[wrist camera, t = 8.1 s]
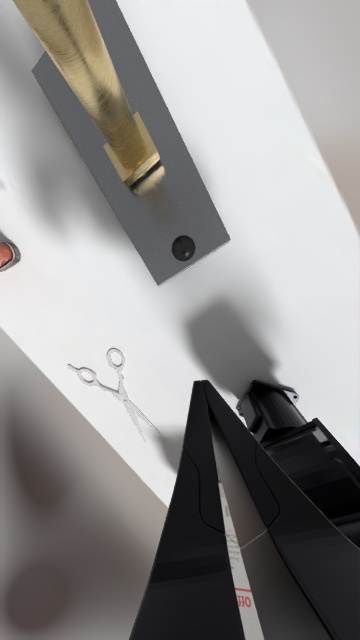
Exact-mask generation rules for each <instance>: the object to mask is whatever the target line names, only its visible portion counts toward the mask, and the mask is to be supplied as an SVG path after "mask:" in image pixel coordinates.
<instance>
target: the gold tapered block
mask: <svg viewBox="0 0 360 640" xmlns="http://www.w3.org/2000/svg"><path fill="white" fill-rule="evenodd" d="M13 2H14V3H15V5H16V6H17V8H18V9H19V11H20V12H21V14H22V15H23V17H24V18H25V20H26V21H27V23H28V24H29V26H30V27H31V29H32V30H33V32H34V33H35V35H36V36H37V38H38V39H39V41H40V42H41V44H42V45H43V47H44V48H45V50H46V51H47V53H48V54H49V56H50V57H51V59H52V60H53V62H54V63H55V65H56V66H57V68H58V69H59V71H60V72H61V74H62V75H63V77H64V78H65V80H66V81H67V83H68V84H69V86H70V87H71V89H72V90H73V92H74V93H75V95H76V96H77V98H78V99H79V101H80V102H81V104H82V105H83V107H84V109H85V110H86V112H87V113H88V115H89V116H90V118H91V119H92V121H93V122H94V124H95V125H96V127H97V128H98V130H99V131H100V133H101V134H102V136H103V137H104V139H105V140H106V142H107V143H106V144H105V145H104V146H103V147H104V149H105V151H106V152H107V154H108V156H109V158H110V159H111V161H112V163H113V165H114V167H115V168H116V170H117V172H118V174H119V176H120V177H121V179H122V181H123V182H124V184H125V185H126V186H127V188H128V187H129V186H130V185H132V184H133V183H134V182H135V181H136V180H137V179H138V178H140V177H141V176H142V175H143V174H144V173H145V172H146V171H148V170H149V169H150V168H151V167H152V166H153V165H154V164H156V163H157V162H158V161H159V160H160V157H159V154H158V151H157V149H156V147H155V145H154V143H153V141H152V139H151V137H150V135H149V133H148V131H147V129H146V127H145V125H144V123H143V121H142V119H141V117H140V115H139V113H138V111H137V112H136V113H135V114H134V115H133V113H132V111H131V108H130V106H129V103H128V101H127V98H126V96H125V93H124V91H123V88H122V86H121V83H120V81H119V78H118V76H117V73H116V71H115V68H114V66H113V63H112V61H111V58H110V56H109V53H108V51H107V48H106V46H105V43H104V41H103V38H102V36H101V33H100V31H99V28H98V26H97V23H96V21H95V18H94V16H93V13H92V11H91V8H90V6H89V3H88V1H87V0H13Z"/></svg>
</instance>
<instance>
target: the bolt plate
mask: <svg viewBox="0 0 360 640" xmlns="http://www.w3.org/2000/svg"><path fill="white" fill-rule="evenodd" d="M87 1H88V3H89V6H90V8H91V11H92V13H93V16H94V18H95V21H96V23H97V26H98V28H99V31H100V33H101V36H102V38H103V41H104V43H105V46H106V48H107V51H108V53H109V56H110V58H111V61H112V63H113V66H114V68H115V71H116V73H117V76H118V78H119V81H120V83H121V86H122V88H123V91H124V93H125V96H126V98H127V101H128V103H129V106H130V108H131V111H132V113H133V115H134V114H135V113H136V112H137V111H138V113H139V115H140V117H141V119H142V121H143V123H144V125H145V127H146V129H147V131H148V133H149V135H150V137H151V139H152V141H153V143H154V145H155V147H156V149H157V151H158V154H159V157H160V160H159V161H158V162H157V163H156V164H154V165H153V166H152V167H151V168H150V169H149V170H148V171H146V172H145V173H144V174H143V175H142V176H141V177H140V178H138V179H137V180H136V181H135V182H134V183H133V184H132V185H130V186H129V187H128V188H127V186H126V185H125V184H124V182H123V181H122V179H121V177H120V176H119V174H118V172H117V170H116V168H115V167H114V165H113V163H112V161H111V159H110V158H109V156H108V154H107V152H106V151H105V149H104V147H103V146H104V145H105V144H106V143H107V142H106V140H105V139H104V137H103V136H102V134H101V133H100V131H99V130H98V128H97V127H96V125H95V124H94V122H93V121H92V119H91V118H90V116H89V115H88V113H87V112H86V110H85V109H84V107H83V105H82V104H81V102H80V101H79V99H78V98H77V96H76V95H75V93H74V92H73V90H72V89H71V87H70V86H69V84H68V83H67V81H66V80H65V78H64V77H63V75H62V74H61V72H60V71H59V69H58V68H57V66H56V65H55V63H54V62H53V60H52V59H51V57H50V56H49V54H48V53H47V51H45V53H44V54H43V56H42V57H41V59H40V60H39V61H38V63H37V64H36V66H35V67H34V68H33V70H32V72H33V74H34V76H35V78H36V79H37V81H38V83H39V84H40V86H41V88H42V89H43V91H44V93H45V95H46V96H47V98H48V100H49V101H50V103H51V105H52V106H53V108H54V110H55V112H56V113H57V115H58V117H59V118H60V120H61V122H62V123H63V125H64V127H65V129H66V130H67V132H68V134H69V135H70V137H71V139H72V140H73V142H74V144H75V146H76V147H77V149H78V151H79V152H80V154H81V156H82V157H83V159H84V161H85V163H86V164H87V166H88V168H89V169H90V171H91V173H92V174H93V176H94V178H95V180H96V181H97V183H98V185H99V186H100V188H101V190H102V191H103V193H104V195H105V197H106V198H107V200H108V202H109V203H110V205H111V207H112V209H113V210H114V212H115V214H116V215H117V217H118V219H119V220H120V222H121V224H122V226H123V227H124V229H125V231H126V232H127V234H128V236H129V237H130V239H131V241H132V243H133V244H134V246H135V248H136V249H137V251H138V253H139V254H140V256H141V258H142V260H143V261H144V263H145V265H146V266H147V268H148V270H149V271H150V273H151V275H152V277H153V278H154V280H155V282H156V283H157V285H161V284H163V283H165V282H166V281H168V280H169V279H171V278H173V277H174V276H176V275H177V274H179V273H181V272H182V271H184V270H185V269H187V268H189V267H190V266H192V265H193V264H195V263H196V262H198V261H200V260H201V259H203V258H204V257H206V256H208V255H209V254H211V253H212V252H214V251H216V250H217V249H219V248H220V247H222V246H224V245H225V244H227V243H228V242H229V241H230V240H231V239H230V237H229V235H228V233H227V231H226V229H225V227H224V225H223V223H222V221H221V218H220V216H219V214H218V212H217V210H216V208H215V206H214V204H213V202H212V200H211V198H210V196H209V193H208V191H207V189H206V187H205V185H204V183H203V181H202V179H201V177H200V175H199V173H198V171H197V168H196V166H195V164H194V162H193V160H192V158H191V156H190V154H189V152H188V150H187V148H186V146H185V143H184V141H183V139H182V137H181V135H180V133H179V131H178V129H177V127H176V125H175V123H174V121H173V118H172V116H171V114H170V112H169V110H168V108H167V106H166V104H165V102H164V100H163V98H162V96H161V93H160V91H159V89H158V87H157V85H156V83H155V81H154V79H153V77H152V75H151V73H150V71H149V69H148V66H147V64H146V62H145V60H144V58H143V56H142V54H141V52H140V50H139V48H138V46H137V44H136V41H135V39H134V37H133V35H132V33H131V31H130V29H129V27H128V25H127V23H126V21H125V19H124V16H123V14H122V12H121V10H120V8H119V6H118V4H117V2H116V0H87Z"/></svg>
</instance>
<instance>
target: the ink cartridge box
mask: <svg viewBox="0 0 360 640" xmlns="http://www.w3.org/2000/svg"><path fill="white" fill-rule="evenodd" d="M219 490H220V497H221V504H222V511H223V518H224V525H225V535H226V540H227V547H228V553H229V559H230V565H231V571H232V576H233V581H234V586H235V591H236V596H237V600H238V605H239V610H240V615H241V620H242V625H243V630H244V634H245V639H246V640H264V637H263V633H262V630H261V626H260V622H259V618H258V615H257V611H256V607H255V604H254V600H253V596H252V593H251V589H250V585H249V582H248V578H247V574H246V571H245V567H244V563H243V560H242V556H241V552H240V548H239V545H238V541H237V537H236V534H235V530H234V526H233V523H232V519H231V515H230V511H229V508H228V504H227V500H226V497H225V493H224V489H223V486H222V483H219Z"/></svg>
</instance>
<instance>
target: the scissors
mask: <svg viewBox="0 0 360 640" xmlns="http://www.w3.org/2000/svg"><path fill="white" fill-rule="evenodd" d="M112 352H117V353H119V354H120V356H121V357H122V365H121V366H116V365H115V364H113V362H112V360H111V353H112ZM107 360H108V363H109V366H111V367H112V368H114V369H116V370H117V373H118V375H119V377H120V385H119V392H117V391H115V390H112V389H109V388H107V387H105V386H103V385H101V383H100V382H99V381H98V380H97V377H96V373H95V372H93V371H92V370H90V369H87V368H82V369H80V370H79V369H76V368H74V367H73V366H71V365H68V369H71V370H73V371H75V372H77V373H78V377H79V379H80V380H81V381H82V382H83V383H84V384H86V385H91V386H92V385H96V386H99V387H100V388H101V389H102V390H104V391H108V392H111V393H112V394H113V395H114V396H115V397H116V398H117V399H118V400H119V401H121V402H123V403H124V405H125V407H126V409H127V411H128V413H129V415H130V417H131V419H132V421H133V422H134V424H135V426H136V428H137V429H138V431H139V433H140V435H141V437H142V438H143V440H144V437H143V434H142V432H141V429H140V426H139V424H138V421H137V418H136V415H135V413H136V414H137V415H138V416H139V417H140V418H141V419H143V420H144V421H145V422H146V423H147V424H148V425H150V426H151V427H152V428H153V429H154V430H156V431H157V429H156V428H155V427H154V426H153V425H152V424H151V423H150V421H149V420H148V419H147V418H146V417H145V416H144V415H143V414H142V412H141V411H140V410H139V409H138V408H137V407H136V406H135V405H134V404H133V403H132V402H131V401H130V400H129V398H128V396H127V394H126V392H125V389H124V386H123V379H124V378H123V376H122V374H121V371H122V369H123V367H124V366H125V357H124V355H123V354H122V352H121V351H119V350H117V349H111V350H110V351H109V352H108V354H107ZM82 371H86V372H88V373H90V374H91V376H92V377H93V382H88V381H86V380H85V379H84V378H83V377H82ZM134 412H135V413H134ZM157 432H158V431H157ZM158 433H159V432H158ZM159 434H160V433H159ZM160 435H161V434H160ZM161 436H162V435H161ZM144 441H145V440H144Z"/></svg>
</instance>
